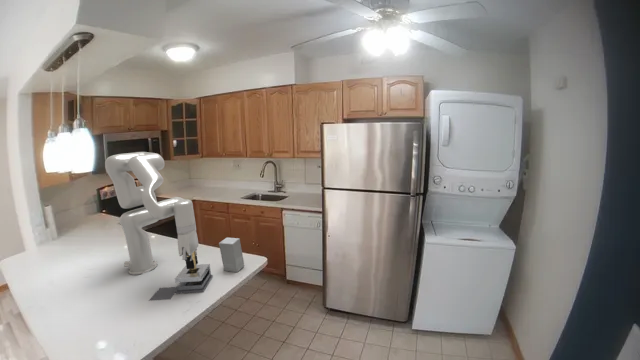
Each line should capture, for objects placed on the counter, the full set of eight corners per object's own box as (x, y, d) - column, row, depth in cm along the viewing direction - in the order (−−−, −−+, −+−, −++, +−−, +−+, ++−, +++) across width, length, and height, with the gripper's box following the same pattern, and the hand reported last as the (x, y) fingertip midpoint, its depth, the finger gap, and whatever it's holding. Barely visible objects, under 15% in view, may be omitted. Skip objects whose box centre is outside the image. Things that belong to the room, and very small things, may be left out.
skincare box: (244, 266, 138) (241, 237, 135) (236, 273, 132) (232, 243, 128) (230, 264, 141) (227, 236, 138) (221, 271, 134) (218, 241, 131)
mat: (148, 301, 113) (148, 300, 113) (159, 288, 122) (159, 287, 122) (170, 300, 113) (170, 299, 113) (180, 287, 122) (180, 286, 122)
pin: (188, 276, 120) (184, 252, 117) (191, 272, 123) (187, 248, 121) (196, 276, 120) (192, 251, 118) (199, 272, 123) (195, 248, 121)
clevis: (175, 294, 117) (173, 279, 115) (187, 279, 129) (185, 264, 127) (203, 292, 117) (201, 277, 116) (212, 277, 129) (211, 263, 127)
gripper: (185, 221, 125) (191, 258, 129) (168, 236, 109) (175, 277, 113) (202, 220, 125) (207, 257, 129) (187, 234, 109) (193, 275, 113)
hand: (192, 266), depth 121 cm, fingers closed on pin, 3 cm apart
